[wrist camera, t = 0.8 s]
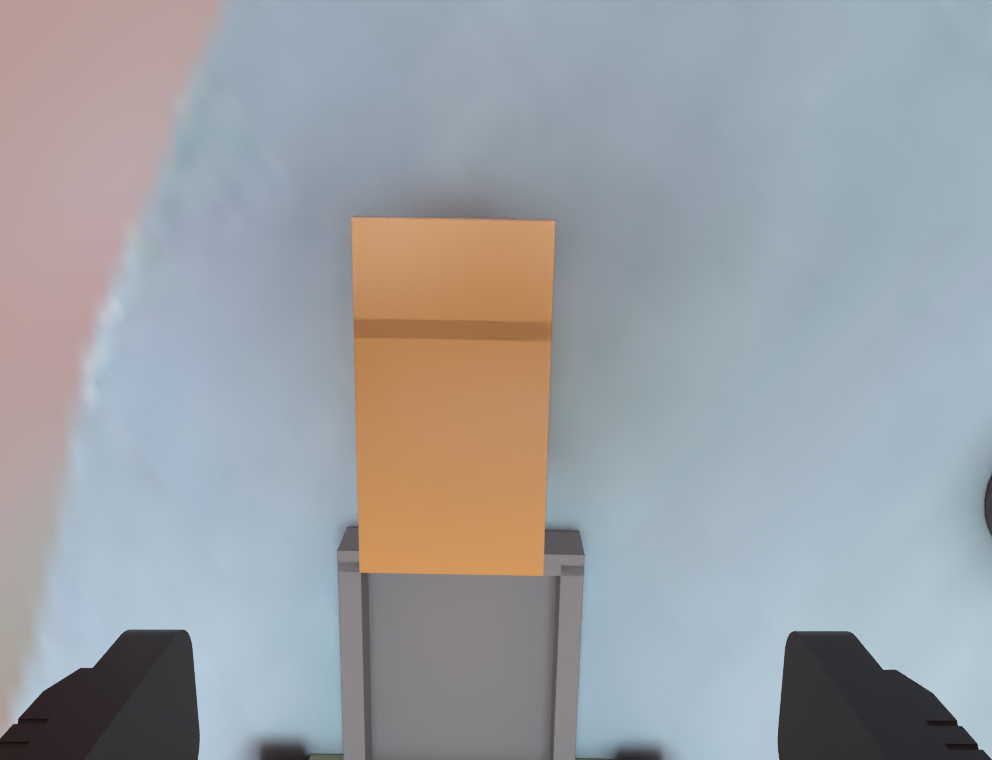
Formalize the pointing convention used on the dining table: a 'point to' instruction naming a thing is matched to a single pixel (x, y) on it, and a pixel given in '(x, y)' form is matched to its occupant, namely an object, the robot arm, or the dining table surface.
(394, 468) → the orange box
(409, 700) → the green boxy vehicle
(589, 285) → the dining table surface
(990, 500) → the bottle
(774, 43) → the dining table surface
